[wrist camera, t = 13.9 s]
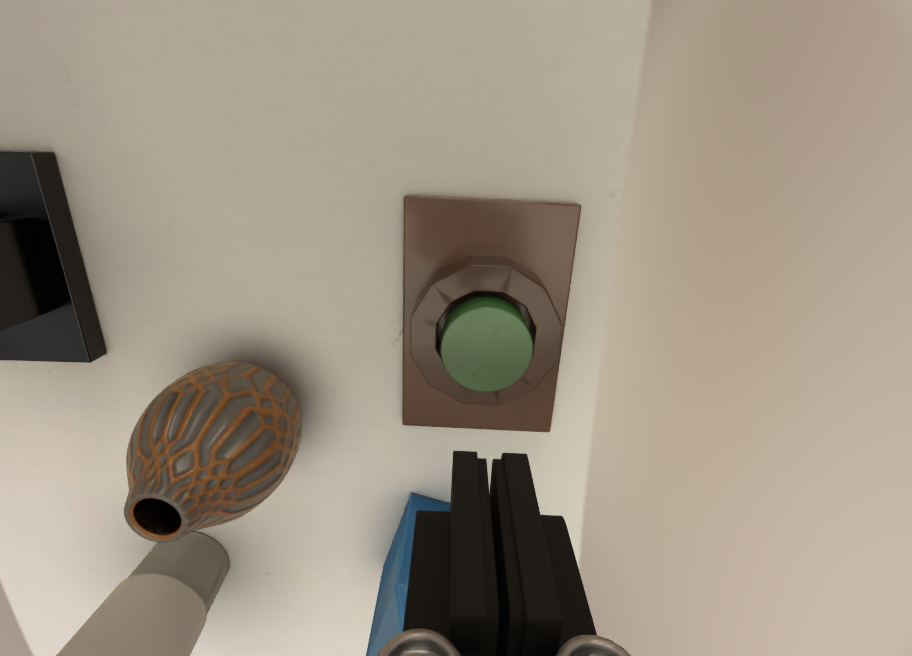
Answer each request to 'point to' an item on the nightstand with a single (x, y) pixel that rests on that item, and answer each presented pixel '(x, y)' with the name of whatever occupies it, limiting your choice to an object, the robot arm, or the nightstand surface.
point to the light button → (486, 344)
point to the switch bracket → (41, 267)
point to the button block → (484, 274)
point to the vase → (209, 450)
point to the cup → (157, 603)
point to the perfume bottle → (397, 575)
